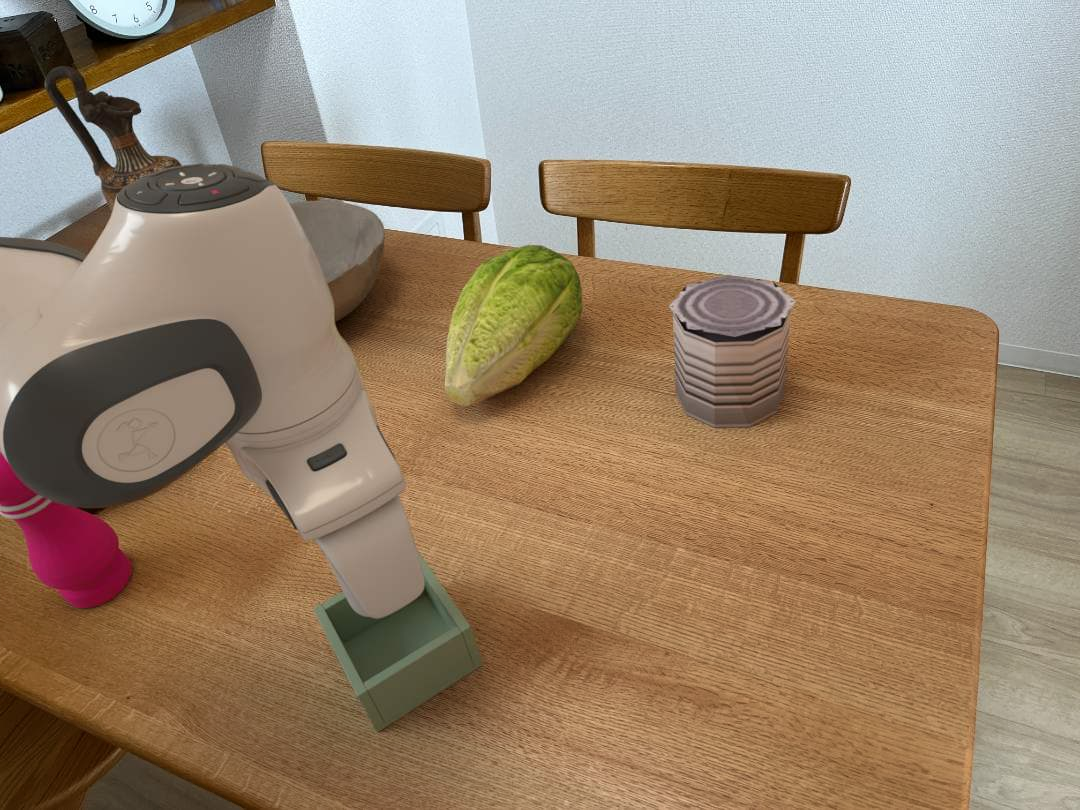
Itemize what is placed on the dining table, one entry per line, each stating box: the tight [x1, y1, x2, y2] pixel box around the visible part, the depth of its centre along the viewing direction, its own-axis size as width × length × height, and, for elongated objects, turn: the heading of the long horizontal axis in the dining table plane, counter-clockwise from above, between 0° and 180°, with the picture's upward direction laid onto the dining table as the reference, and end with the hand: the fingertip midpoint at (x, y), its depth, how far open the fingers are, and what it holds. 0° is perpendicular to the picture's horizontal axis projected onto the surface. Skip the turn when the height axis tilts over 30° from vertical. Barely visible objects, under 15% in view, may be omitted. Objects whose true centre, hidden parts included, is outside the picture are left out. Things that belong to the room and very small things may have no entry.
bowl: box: [289, 199, 386, 323], centre depth 107 cm, size 28×28×10 cm
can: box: [668, 274, 796, 429], centre depth 82 cm, size 11×11×12 cm
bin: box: [312, 549, 484, 733], centre depth 65 cm, size 10×10×6 cm
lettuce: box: [444, 244, 583, 408], centre depth 91 cm, size 13×22×14 cm
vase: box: [43, 65, 183, 212], centre depth 116 cm, size 12×12×30 cm
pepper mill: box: [0, 452, 133, 609], centre depth 71 cm, size 7×7×20 cm
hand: (362, 558), depth 59 cm, fingers closed on beverage can, 5 cm apart
